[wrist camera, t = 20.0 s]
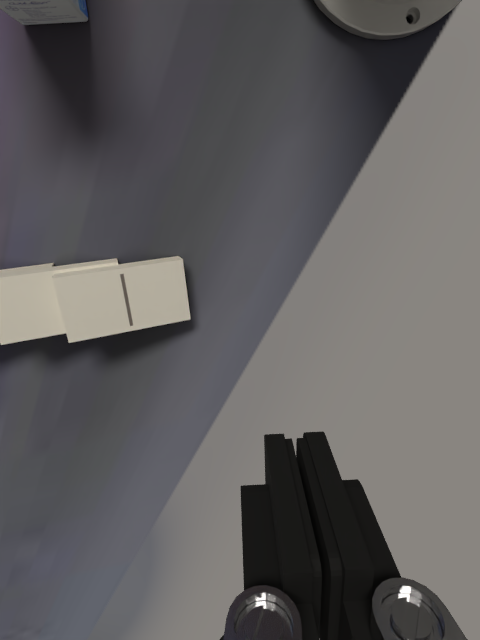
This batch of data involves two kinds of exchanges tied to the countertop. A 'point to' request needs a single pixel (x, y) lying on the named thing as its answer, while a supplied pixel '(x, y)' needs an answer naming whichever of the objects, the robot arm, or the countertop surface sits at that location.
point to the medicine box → (45, 11)
